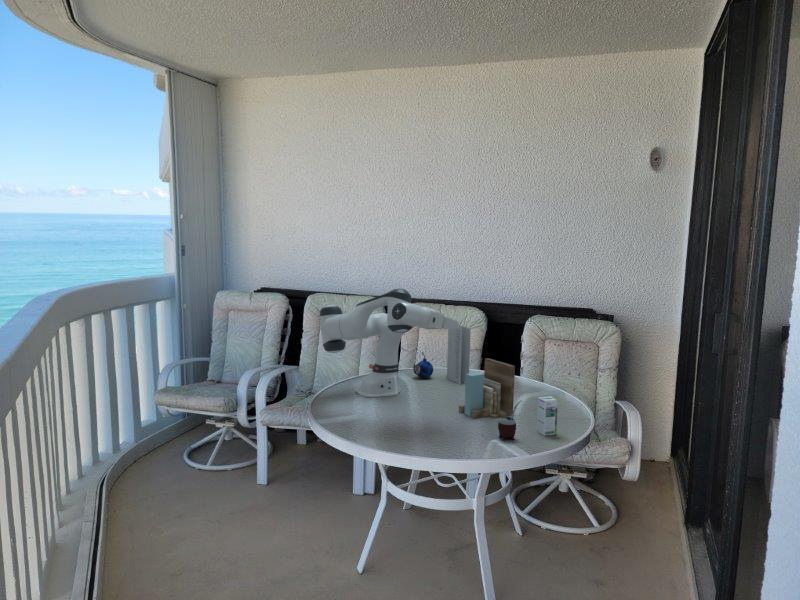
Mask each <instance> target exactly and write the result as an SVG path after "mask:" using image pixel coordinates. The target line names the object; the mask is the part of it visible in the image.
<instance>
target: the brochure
mask: <svg viewBox="0 0 800 600" xmlns="http://www.w3.org/2000/svg"><path fill="white" fill-rule="evenodd" d="M471 330H472V329H471V328H470V327H467V326H463V325H460V326H459V328H457V329H456V330H451V329H447V333H448V334H447V360H446V361H447V363H446V365H447V366H446V367H447V368H446V380H449V379H450V380H449V381H451V380H452V381H451V382H453V381H454V382H453V383H455V382H456V383H455V384H457V383H458V384H457V385H459V384H460V385H461V383H463V382H466V374H470V362H471V361H470V360H471V333H472V332H471Z"/></svg>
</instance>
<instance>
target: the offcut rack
mask: <svg viewBox="0 0 800 600" xmlns="http://www.w3.org/2000/svg"><path fill="white" fill-rule="evenodd" d="M483 369H484V371H483V372H484V373H483V374H484V378H486V379H489V380H492V381H495V382H498V383H501V396H500V412H498V413H491V414H490V413H489V409H487V408H484V409H479V410H473V411H472V414H471V416H470V418H472V419H481V418H487V417H490V418H492V419H497V418H501V417H509V416H512V413H513V411H514V401H515V400H514V394H515V373H516V372H515V370H516V366H515V365H512V364H509V363H506V362H502V361H499V360H496V359H492V358H488V357H487V358H484V368H483ZM458 413H460V414H464V413H465V404H460V405H459V404H458Z"/></svg>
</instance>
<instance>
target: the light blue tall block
mask: <svg viewBox="0 0 800 600" xmlns="http://www.w3.org/2000/svg"><path fill="white" fill-rule="evenodd" d="M464 385H465V387H464V393H465V394H464V405H465V413H463V414H464V415H466V416H468V417H471V414H472V411H473V410H479V409H483V388H484V373H480V372H473V373H472V372H471V373H470V372H469V374H466V382H465V383H464Z"/></svg>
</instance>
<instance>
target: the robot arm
mask: <svg viewBox="0 0 800 600" xmlns="http://www.w3.org/2000/svg"><path fill="white" fill-rule="evenodd" d="M386 306H387V313H385V312H380V313H379V312H378V313H374V314H373V312H374V311H375V310H377V309H381V308H383V307H386ZM319 311H320V312H319V317H320V320H319V321H320V322H319V325H320V326H319V327H320V328H319V329H320V333H321V340H322V347H323V350H324V351H326V352H327V353H331V354H337V353H340V352H342V351H344V350H345V348H346V345H347V343H346V341H353V340H354V341H355V340H362V339H363V340H364V339H365V340H366V339H369V338H372V337H375V336H376V337H377V336H380V339H379V342H378V345H377V346H376V348H375V363H374V364H371V363H369V365H368V368H369V369H372V370H371V372H370V373H368V374H367V375H366V376H364V378H362V379H361V383H360V386H359V387H360V388H357V389H355V393H356V392H357V393H358V394H357V393H356V394H357V395H359V394H360V395H359V396H361V395H362V396H361V397H365V398H378V397H391V396H398V395H399V393H400V392H401V387H400V382H399V370H400V368H399V362H398V361H399V347H400V342H401V339H402V337H403V335H405V334H406V333H408V332H409V331H411V330H412V329H413V328H414V327H417V328H419V329H423V330H424V329H425V330H442V329H444V330H448V329H451V330H456V329H457V328H459V326H461V325H460V323H459V320H457V319H453V318H451V317H449V316H446V315H445V314H443V313H442V312H438V311H437V310H435V309H434V308H431V307H427V306H421V305H420V306H419V304H416V303H412V295H411V294H410V292H409V291H408V290H406V289H405V288H394V289H392V290H390V291H387V293H383V294H381V295H378V296H374V297H373V298H369V299H367V300H364V301H361V302H358V303H356V305H355V306H354V308H352V310H350V311H349V312H346V313H343V310H342V308H341V307H340V306H339V305H335V304H329V305H326V306H324V307H322V308H321V309H320V310H319Z"/></svg>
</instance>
